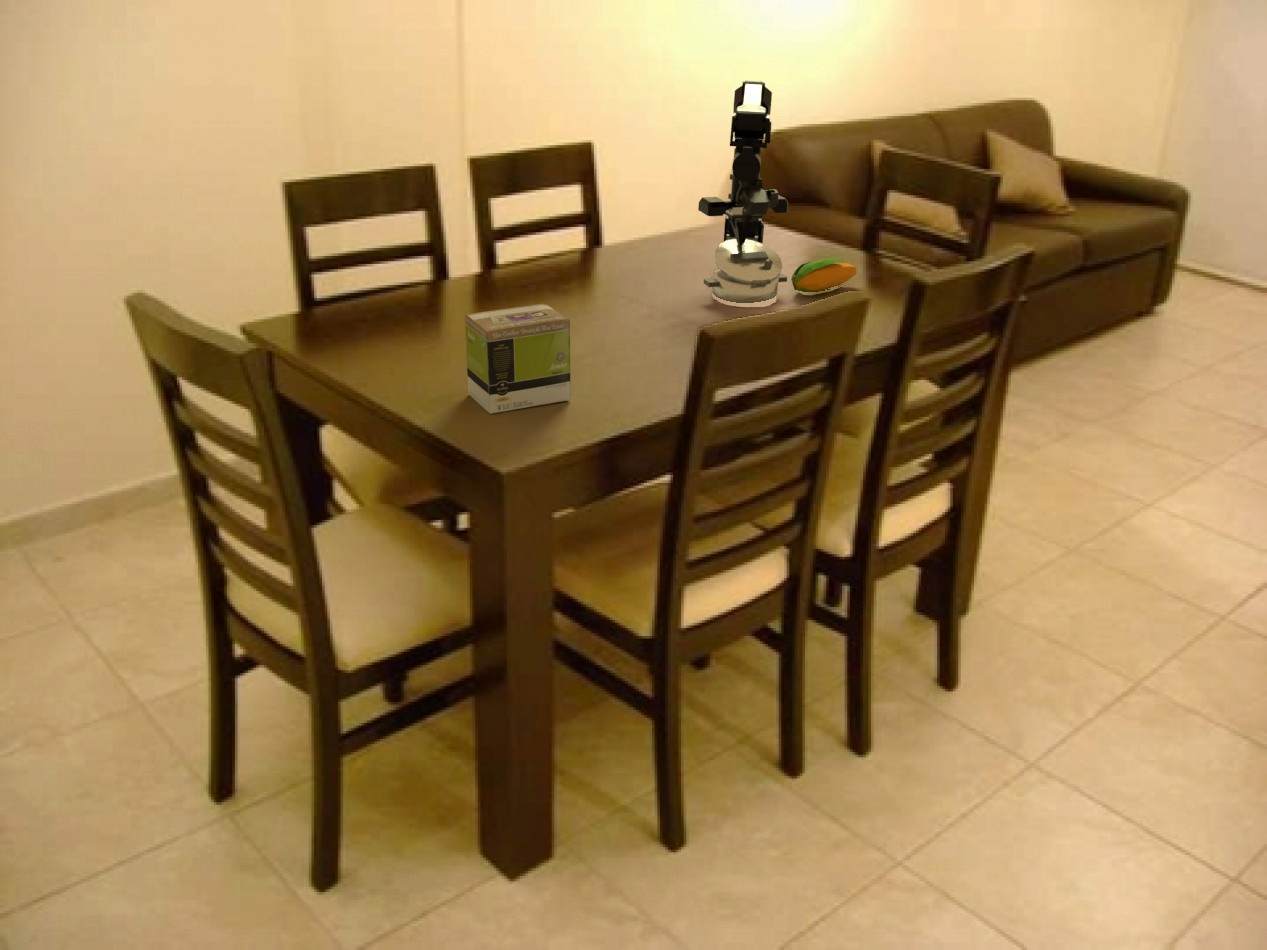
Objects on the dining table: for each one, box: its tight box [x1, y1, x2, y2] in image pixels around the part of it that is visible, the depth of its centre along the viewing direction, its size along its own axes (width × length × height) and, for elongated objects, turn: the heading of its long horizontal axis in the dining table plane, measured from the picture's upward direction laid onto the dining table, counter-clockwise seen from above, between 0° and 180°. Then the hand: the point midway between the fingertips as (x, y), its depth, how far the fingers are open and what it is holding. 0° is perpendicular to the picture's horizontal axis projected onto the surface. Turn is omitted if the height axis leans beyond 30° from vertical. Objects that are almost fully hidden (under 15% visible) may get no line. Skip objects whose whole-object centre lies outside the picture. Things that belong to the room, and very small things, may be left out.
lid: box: [713, 239, 783, 285], centre depth 255 cm, size 15×15×3 cm
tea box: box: [464, 303, 572, 414], centre depth 200 cm, size 15×10×15 cm
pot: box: [703, 268, 788, 303], centre depth 258 cm, size 14×18×5 cm
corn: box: [791, 258, 857, 292], centre depth 265 cm, size 7×8×20 cm
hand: (740, 244), depth 258 cm, fingers closed, pressing on lid
